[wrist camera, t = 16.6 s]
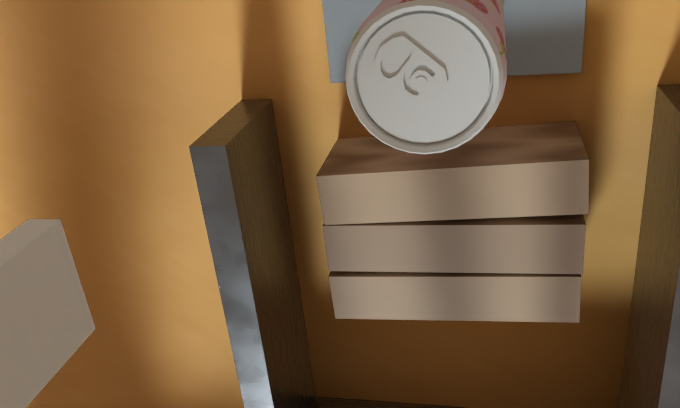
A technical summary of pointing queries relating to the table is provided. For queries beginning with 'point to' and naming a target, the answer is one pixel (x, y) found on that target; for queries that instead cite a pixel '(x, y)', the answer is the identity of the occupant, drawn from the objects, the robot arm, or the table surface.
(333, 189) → the offcut slab
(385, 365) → the table surface
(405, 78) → the beverage can
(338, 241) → the offcut slab
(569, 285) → the offcut slab
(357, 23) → the mat
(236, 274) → the tray
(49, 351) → the robot arm
